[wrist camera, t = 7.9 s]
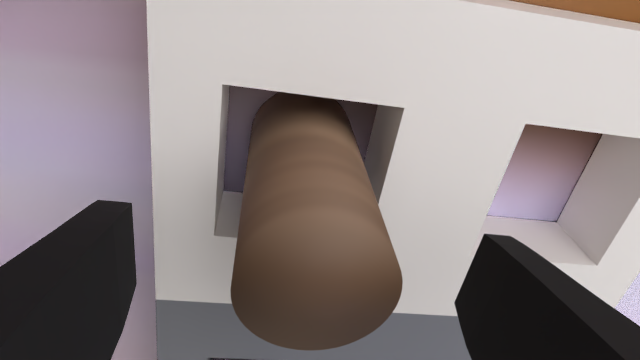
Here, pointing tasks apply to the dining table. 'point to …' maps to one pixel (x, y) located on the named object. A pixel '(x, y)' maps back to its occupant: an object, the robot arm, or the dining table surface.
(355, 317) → the walnut pin
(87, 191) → the dining table surface
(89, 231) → the robot arm
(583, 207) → the white grey peg board
